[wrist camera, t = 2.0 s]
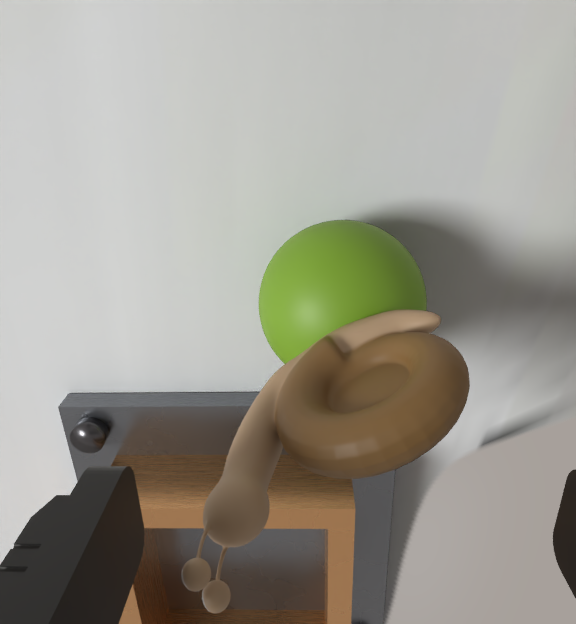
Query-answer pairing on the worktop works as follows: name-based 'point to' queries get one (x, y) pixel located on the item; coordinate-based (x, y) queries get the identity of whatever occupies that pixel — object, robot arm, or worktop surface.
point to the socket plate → (259, 552)
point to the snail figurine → (335, 379)
